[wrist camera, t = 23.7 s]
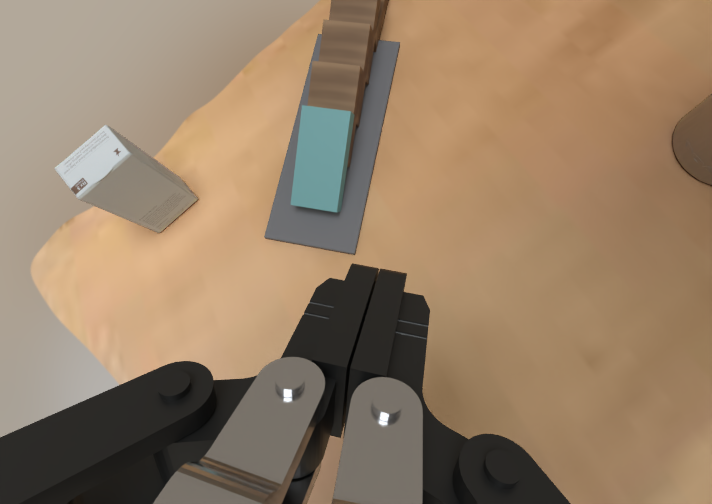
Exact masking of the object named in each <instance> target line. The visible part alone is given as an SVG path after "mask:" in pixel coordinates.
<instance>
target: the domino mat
mask: <svg viewBox="0 0 712 504" xmlns="http://www.w3.org/2000/svg"><path fill="white" fill-rule="evenodd" d="M321 37H322V34H318V37H317V40H316V44H315V48H314V52H313V56H312V59H311V63H310V67H309V71H308V74H307V78H306V82H305V86H304V89H303V93H302V97H301V101H300V105H299V108H298V112H297V116H296V120H295V123H294V127H293V131H292V135H291V138H290V142H289V146H288V150H287V154H286V157H285V161H284V165H283V169H282V172H281V176H280V180H279V184H278V187H277V191H276V195H275V199H274V203H273V206H272V210H271V214H270V218H269V221H268V225H267V229H266V233H265V238H266V239H271V240H277V241H282V242H288V243H293V244H299V245H304V246H310V247H315V248H321V249H326V250H332V251H337V252H342V253H348V254H353V255H355V252H356V247H357V243H358V238H359V233H360V229H361V224H362V219H363V215H364V210H365V205H366V201H367V196H368V191H369V187H370V182H371V177H372V173H373V168H374V163H375V158H376V154H377V149H378V144H379V140H380V135H381V130H382V126H383V121H384V116H385V112H386V107H387V102H388V98H389V93H390V88H391V84H392V79H393V74H394V70H395V65H396V60H397V56H398V51H399V46H400V42H392V41H382V40H379V42H378V46H377V50H376V52H373V58H372V65H371V72H370V79H369V85H367V84H365V89H364V96H363V103H362V110H361V117H360V124H359V127H357V126H356V128H355V135H354V142H353V149H352V156H351V163H350V167H347V171H346V178H345V186H344V193H343V200H342V207H341V211H340V212H331V211H325V210H319V209H313V208H307V207H301V206H295V205H291V196H292V187H293V179H294V170H295V162H296V153H297V144H298V136H299V127H300V119H301V110H302V105H305V106H307V104H308V96H309V87H310V79H311V70H312V62H313V61H319V53H320V45H321Z"/></svg>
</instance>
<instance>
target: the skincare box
mask: <svg viewBox="0 0 712 504" xmlns="http://www.w3.org/2000/svg"><path fill="white" fill-rule="evenodd" d="M55 170H56V171H57V173H58V174H59V175H60V176H61V178H62V179H63V180H64V182H65V183H66V184H67V185H68V187H69V188H70V189H71V191H72V192H73V193H74V194H75V196H76V197H77V198H78V199H79V200H81V201H84V202H86V203H89V204H91V205H94V206H96V207H98V208H101V209H103V210H105V211H108V212H110V213H112V214H115V215H117V216H120V217H122V218H124V219H127V220H129V221H131V222H134V223H136V224H138V225H141V226H143V227H146V228H148V229H150V230H153V231H155V232H157V233H160V232H161V231H163V230H164V229H165V228H166V227H167V226H168V225H169V224H170V223H172V222H173V221H174V220H175V219H176V218H177V217H178V216H180V215H181V214H182V213H183V212H184V211H185V210H186V209H188V208H189V207H190V206H191V205H192V204H193V203H194V202H195V201H197V200H198V198H197V197H196V195H195V194H194V193H193V192H192V191H191V190H190V188H189V187H188V186H187V185H186V184H185V183H184V181H183V180H182V179H181V178H180V177H179V176H178V175H176V174H174V173H173V172H172V171H170V170H169V169H168V168H166V167H165V166H163V165H162V164H161V163H159V162H158V161H157V160H155V159H154V158H152V157H151V156H149V155H148V154H147V153H145V152H144V151H143V150H141V149H140V148H139V147H137V146H136V145H134V144H133V143H132V142H130V141H129V140H128V139H126V138H125V137H123V136H122V135H120V134H119V133H117V132H116V131H115V130H114V129H112V128H111V127H109V126H108V125H105V126H103V127H102V128H101V129H100V130H99V131H98V132H96V133H95V134H94V135H93V136H92V137H91V138H89V139H88V140H87V141H86V142H85V143H84V144H82V145H81V146H80V147H79V148H78V149H77V150H75V151H74V152H73V153H72V154H71V155H70V156H68V157H67V158H66V159H65V160H64V161H63V162H61V163H60V164H59V165H58V166H56V167H55Z"/></svg>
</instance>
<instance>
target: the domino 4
mask: <svg viewBox="0 0 712 504" xmlns="http://www.w3.org/2000/svg"><path fill="white" fill-rule="evenodd" d="M353 122H354V114H353V113H352V112H351V111H344V110H336V109H328V108H320V107H313V106H305V105H302V110H301V119H300V127H299V136H298V144H297V153H296V162H295V170H294V179H293V187H292V196H291V205H295V206H301V207H307V208H313V209H319V210H325V211H331V212H340V211H341V207H342V200H343V193H344V186H345V178H346V171H347V164H348V157H349V150H350V143H351V136H352V129H353Z"/></svg>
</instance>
